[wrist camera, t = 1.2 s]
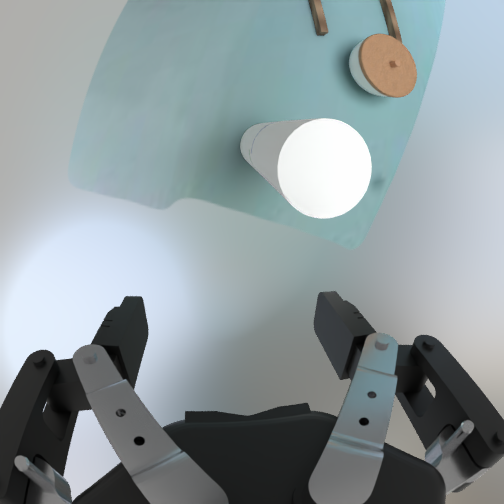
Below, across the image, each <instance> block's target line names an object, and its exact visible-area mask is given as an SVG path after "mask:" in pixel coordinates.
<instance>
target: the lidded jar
mask: <svg viewBox="0 0 504 504" xmlns="http://www.w3.org/2000/svg"><path fill="white" fill-rule="evenodd" d="M349 68H350V72H351V74H352V76H353V78H354V80H355V81H356V83H357V84H358V85H359V86H360V87H361V88H362V89H364V90H365V91H367V92H369V93H371V94H374V95H377V96H382V97H404V96H406V95H408V94H409V93H410V92H411V91H412V90H413V88H414V86H415V83H416V79H417V72H416V66H415V63H414V60H413V58H412V56H411V54H410V52H409V51H408V50H407V48H406V47H405V46H404V45H403V44H402V43H401V42H400V41H398V40H397V39H395V38H393V37H391V36H389V35H386V34H374V35H371V36H369V37H367V38H366V39H365V40H363V41H361V42H360V43H358V44H357V45H356V46H355V47H354V49H353V50H352V52H351V54H350V58H349Z"/></svg>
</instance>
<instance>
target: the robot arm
mask: <svg viewBox="0 0 504 504" xmlns="http://www.w3.org/2000/svg"><path fill="white" fill-rule="evenodd" d="M314 330H315V333H316V335H317V337H318V338H319V340H320V342H321V344H322V346H323V348H324V350H325V352H326V354H327V356H328V358H329V359H330V361H331V363H332V365H333V367H334V369H335V371H336V373H337V375H338V377H339V379H340V380H343V379H348V378H350V379H351V384H350V386H349V389H348V392H347V394H346V397H345V399H344V402H343V405H342V407H341V410H340V412H339V414H338V416H337V417H336V416H334V415H331V414H328V413H324V412H318V411H310V408H309V405H308V403H303V404H296V405H289V406H281V407H277V408H273V409H270V410H268V411H264V412H261V413H257V414H254V415H250V416H244V415H237V414H230V413H224V412H218V411H204V412H203V411H196V412H195V411H186V412H185V420H181V421H177V422H174V423H171V424H169V425H167V426H165V427H163V428H162V427H161V426H160V425H159V424H158V422H157V421H156V420H155V419H154V417H153V416H152V415H151V413H150V412H149V411H148V409H147V408H146V407H145V405H144V404H143V403H142V401H141V400H140V398H139V397H138V396H137V394H136V393H135V391H134V388H135V383H136V380H137V376H138V372H139V368H140V364H141V361H142V357H143V353H144V350H145V346H146V342H147V339H148V324H147V319H146V313H145V307H144V302H143V298H142V297H140V296H126V297H125V298H124V300H123V302H122V304H121V305H120V307H114V308H113V309H112V310H110V311H109V312H108V313H107V315H106V317H105V318H104V321H103V322H102V324H101V327H100V328H99V329H98V331H97V333H96V335H95V337H94V339H93V341H92V343H91V344H90V345H85V346H83V347H81V348H79V349H78V350H77V351H76V352H75V353H74V355H73V358H71V359H64V360H56V359H55V357H54V355H53V354H52V353H51V352H50V351H48V350H39V351H36V352H34V353H32V354H31V355H29V357H28V358H27V359H26V361H25V363H24V364H23V366H22V368H21V370H20V371H19V373H18V375H17V377H16V379H15V380H14V382H13V384H12V386H11V388H10V390H9V392H8V394H7V396H6V398H5V400H4V402H3V404H2V406H1V408H0V504H445V499H446V495H447V494H448V493H450V492H460V491H462V490H463V489H465V488H466V487H467V486H469V485H470V484H471V483H473V482H474V481H475V480H476V479H478V478H479V477H480V476H481V475H483V474H484V473H485V472H486V471H487V470H489V469H490V468H491V467H492V466H493V465H494V464H495V463H497V462H498V461H499V460H500V459H501V458H502V457H503V456H504V420H503V418H502V417H501V416H500V414H499V413H498V412H497V410H496V409H495V408H494V406H493V405H492V404H491V402H490V401H489V400H488V398H487V397H486V396H485V394H484V393H483V392H482V391H481V389H480V388H479V387H478V386H477V384H476V383H475V382H474V381H473V380H472V378H471V377H470V376H469V375H468V373H467V372H466V371H465V370H464V369H463V368H462V366H461V365H460V364H459V363H458V362H457V360H456V359H455V358H454V357H453V356H452V355H451V354H450V352H449V351H448V350H447V349H446V348H445V347H444V346H443V345H442V343H441V342H439V340H437V339H436V338H434V337H432V336H429V335H420V336H417V337H416V338H415V340H414V343H413V345H398V343H397V341H396V340H395V339H394V338H393V337H391V336H389V335H387V334H384V333H377V332H376V331H375V330H374V329H373V328H372V327H371V325H370V324H369V323H368V322H367V320H366V319H365V318H364V317H363V315H362V314H361V313H359V311H358V309H357V308H356V307H355V306H354V305H352V304H351V303H349V302H348V301H343V299H342V298H341V297H340V296H339V295H338V293H337V292H335V291H331V292H320V293H319V295H318V299H317V306H316V311H315V318H314ZM427 379H429V380H430V382H431V383H432V384H433V386H434V387H435V391H436V396H435V398H434V397H433V396H432V394H431V393H430V391H429V390H428V388H427V387H426V385H425V383H426V381H427ZM395 395H396V396H397V398H398V400H399V402H400V403H401V405H402V407H403V409H404V410H405V412H406V414H407V416H408V418H409V419H410V421H411V423H412V425H413V427H414V428H415V430H416V432H417V434H418V436H419V438H420V440H421V441H422V443H423V445H424V447H425V449H426V452H425V461H424V460H421V459H419V458H417V457H414V456H412V455H410V454H408V453H406V452H404V451H401V450H399V449H397V448H395V447H393V446H391V445H389V444H387V443H385V438H386V434H387V430H388V425H389V421H390V417H391V412H392V407H393V402H394V396H395ZM46 402H47V404H46ZM45 404H46V406H45ZM44 406H45V409H44ZM43 409H44V412H43ZM91 409H92V410H93V412H94V414H95V416H96V417H97V420H98V422H99V424H100V426H101V427H102V429H103V431H104V433H105V435H106V437H107V438H108V440H109V442H110V444H111V445H112V447H113V449H114V450H115V452H116V454H117V455H118V457H119V459H120V460H121V462H120V463H119V464H118V465H117V466H116V467H114V468H113V469H112V470H111V471H109V472H108V473H107V474H106V475H105V476H103V477H102V478H101V479H99V480H98V481H97V482H96V483H94V484H93V485H92V486H91V487H89V488H88V489H87V490H85V491H84V492H83V493H81V494H80V495H79V496H77V497H76V498H75V500H74V501H73V502H72V497H71V490H70V486H69V484H68V482H67V481H66V479H65V478H64V477H63V475H64V470H65V465H66V460H67V455H68V451H69V446H70V442H71V438H72V434H73V431H74V427H75V423H76V419H77V416H78V412H79V411H82V410H91Z"/></svg>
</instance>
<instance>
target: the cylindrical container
mask: <svg viewBox="0 0 504 504" xmlns="http://www.w3.org/2000/svg"><path fill="white" fill-rule="evenodd" d="M240 149H241V153H242V155H243V157H244V159H245V160H246V161H247V162H248V163H249V164H250V165H251V166H252V167H253V168H254V169H255V170H256V171H257V172H258V173H260V174H261V175H262V176H263V177H264V178H265V179H266V180H267V181H268V182H269V183H270V184H271V185H272V186H273V187H274V188H275V189H276V190H277V191H278V192H279V193H280V194H281V195H282V196H283V197H284V198H285V199H286V200H287V201H288V202H289V203H290V204H291V205H292V206H293V207H294V208H296V209H297V210H298V211H300V212H301V213H303V214H305V215H307V216H311V217H314V218H322V219H323V218H332V217H336V216H340V215H342V214H344V213H345V212H347V211H349V210H350V209H351V208H353V207H354V206H355V205H356V204H357V203H358V202H359V201H360V200H361V198H362V197H363V195H364V193H365V192H366V190H367V187H368V185H369V182H370V177H371V166H372V165H371V158H370V153H369V150H368V147H367V145H366V144H365V142H364V140H363V138H362V137H361V136H360V135H359V134H358V132H357V131H356V130H354V129H353V128H352V127H351V126H349V125H347V124H345V123H343V122H341V121H338V120H334V119H323V118H322V119H304V120H291V121H279V122H269V123H260V124H256V125H253V126H251V127H250V128H249V129H247V130H246V132H245V133H244V134H243V136H242V138H241V142H240Z"/></svg>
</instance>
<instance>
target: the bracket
mask: <svg viewBox="0 0 504 504" xmlns="http://www.w3.org/2000/svg"><path fill="white" fill-rule="evenodd" d="M380 3H381V6H382V10H383V13H384V17H385V20H386V24H387V28H388V32H389V36H391V37H393V38H395V39H397V40H398V41H400V42H401V43H402V39H401V35H400V31H399V27H398V23H397V20H396V16H395V13H394V9H393V6H392V3H391V0H380ZM309 4H310V8H311V11H312V16H313V20H314V24H315V28H316V33H317V35H323V36H324V35H325V34H327V33H328V28H327V24H326V20H325V16H324V12H323V8H322V4H321V1H320V0H309Z"/></svg>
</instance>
